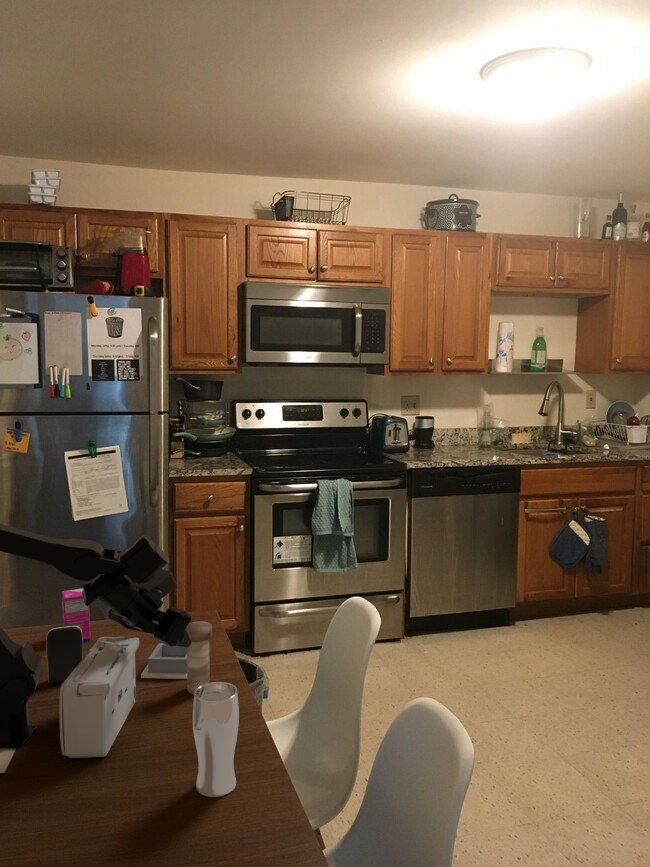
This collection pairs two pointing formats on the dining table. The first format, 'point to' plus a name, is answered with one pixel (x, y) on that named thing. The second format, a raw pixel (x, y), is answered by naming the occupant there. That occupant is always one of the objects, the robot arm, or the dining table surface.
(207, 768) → the beer glass
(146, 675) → the plate
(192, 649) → the maple knob
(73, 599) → the supplement box
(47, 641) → the battery charger
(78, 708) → the stereo radio cassette player
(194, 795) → the dining table surface
